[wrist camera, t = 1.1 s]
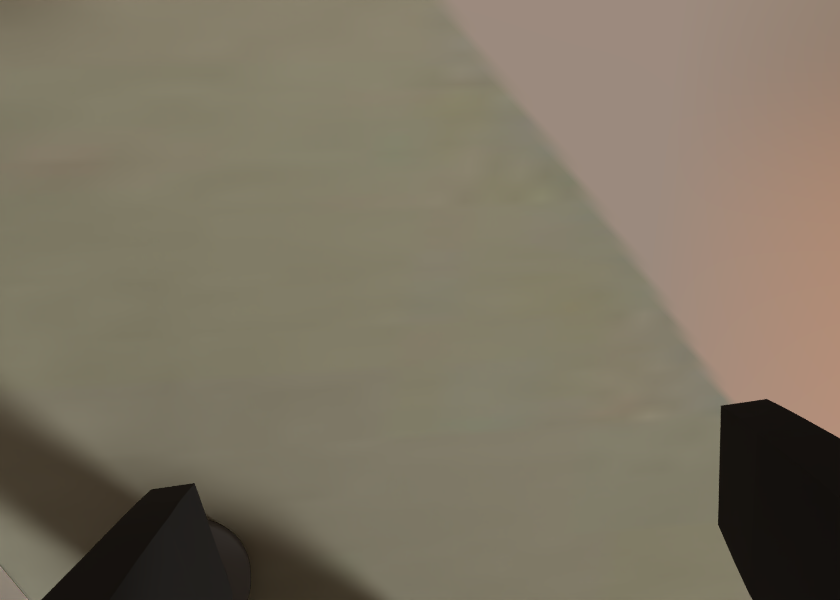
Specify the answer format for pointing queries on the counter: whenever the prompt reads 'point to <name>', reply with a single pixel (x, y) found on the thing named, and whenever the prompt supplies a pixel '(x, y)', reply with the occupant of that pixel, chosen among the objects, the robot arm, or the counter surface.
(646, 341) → the counter surface
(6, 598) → the long narrow tray
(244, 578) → the cord posts
